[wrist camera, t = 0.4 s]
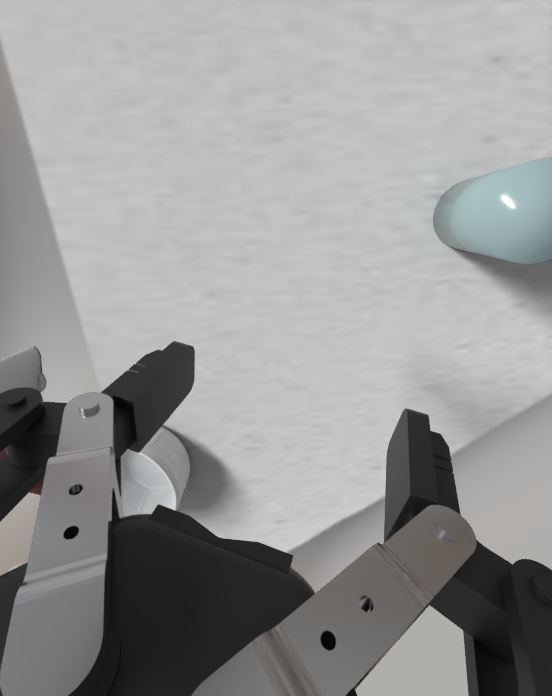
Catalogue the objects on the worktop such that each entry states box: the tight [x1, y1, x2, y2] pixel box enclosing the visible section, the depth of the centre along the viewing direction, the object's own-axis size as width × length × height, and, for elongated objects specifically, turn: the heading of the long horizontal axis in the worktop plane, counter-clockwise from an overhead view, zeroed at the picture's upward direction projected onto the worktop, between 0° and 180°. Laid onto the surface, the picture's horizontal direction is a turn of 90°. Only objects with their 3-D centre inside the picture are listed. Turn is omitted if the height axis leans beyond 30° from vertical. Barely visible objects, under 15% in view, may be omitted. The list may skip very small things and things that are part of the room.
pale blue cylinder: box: [433, 157, 552, 264], centre depth 27 cm, size 6×6×12 cm
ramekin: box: [122, 427, 190, 517], centre depth 45 cm, size 13×13×7 cm
